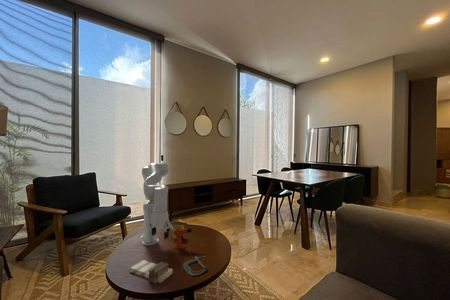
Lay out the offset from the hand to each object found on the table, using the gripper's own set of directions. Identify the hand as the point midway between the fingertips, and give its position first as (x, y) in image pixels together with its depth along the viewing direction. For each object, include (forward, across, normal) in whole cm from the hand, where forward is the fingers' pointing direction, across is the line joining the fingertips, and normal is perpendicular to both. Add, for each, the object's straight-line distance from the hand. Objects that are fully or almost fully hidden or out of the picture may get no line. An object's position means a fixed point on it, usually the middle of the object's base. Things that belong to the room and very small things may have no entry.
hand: (160, 236), depth 130 cm
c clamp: (+22, +17, +15) cm, 32 cm away
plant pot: (+23, -21, +43) cm, 53 cm away
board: (+21, -4, -4) cm, 22 cm away
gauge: (+21, +4, -6) cm, 22 cm away
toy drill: (+22, -5, +32) cm, 40 cm away
